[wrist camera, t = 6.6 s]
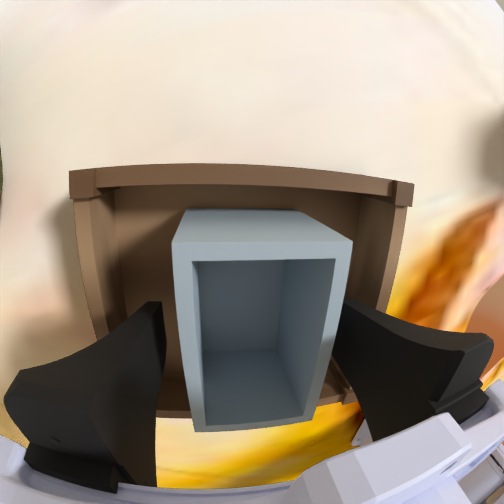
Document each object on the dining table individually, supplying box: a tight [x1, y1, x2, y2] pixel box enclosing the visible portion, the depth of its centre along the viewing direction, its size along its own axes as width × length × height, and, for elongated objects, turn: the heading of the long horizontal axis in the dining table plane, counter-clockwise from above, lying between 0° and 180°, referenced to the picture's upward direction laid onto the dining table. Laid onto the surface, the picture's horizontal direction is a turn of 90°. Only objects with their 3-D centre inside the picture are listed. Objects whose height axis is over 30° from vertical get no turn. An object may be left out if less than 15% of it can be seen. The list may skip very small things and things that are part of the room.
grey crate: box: [172, 208, 353, 432], centre depth 11 cm, size 8×5×6 cm, turn 178°
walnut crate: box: [69, 163, 414, 418], centre depth 12 cm, size 12×13×4 cm
